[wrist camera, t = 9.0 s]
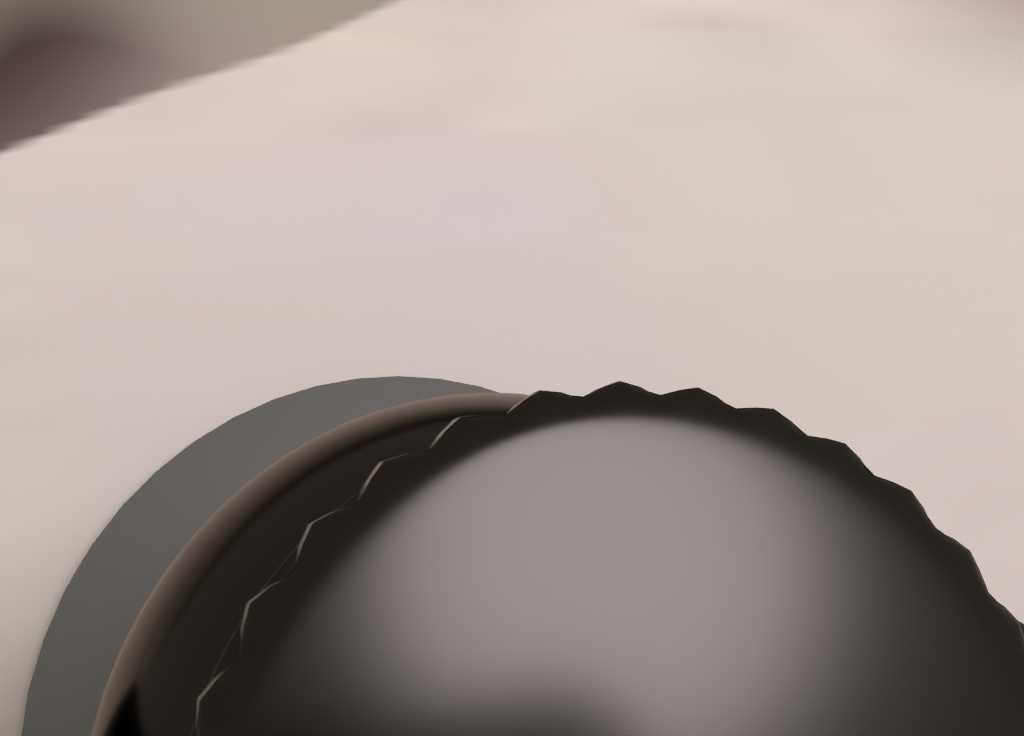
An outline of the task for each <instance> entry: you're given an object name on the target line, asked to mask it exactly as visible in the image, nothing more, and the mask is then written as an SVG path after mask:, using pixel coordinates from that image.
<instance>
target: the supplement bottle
mask: <svg viewBox="0 0 1024 736" xmlns="http://www.w3.org/2000/svg"><path fill="white" fill-rule="evenodd" d="M91 736H1024V634H1023V631H1022V628H1021V625H1020V622H1019V621H1018V620H1017V619H1016V618H1015V617H1014V616H1013V615H1012V614H1011V613H1010V612H1009V611H1008V610H1007V609H1006V608H1005V607H1004V606H1003V605H1001V604H1000V603H998V602H997V601H996V600H995V599H994V598H993V597H992V596H991V595H990V594H989V592H988V590H987V587H986V585H985V582H984V580H983V577H982V575H981V573H980V570H979V568H978V566H977V564H976V562H975V560H974V558H973V556H972V554H971V552H970V551H969V550H968V549H967V548H965V547H964V546H963V545H961V544H960V543H959V542H957V541H956V540H955V539H953V538H951V537H949V536H947V535H945V534H943V533H942V532H941V531H939V530H938V529H936V528H935V526H934V525H933V523H932V522H931V520H930V519H929V518H928V516H927V514H926V512H925V510H924V508H923V506H922V505H921V504H920V502H919V501H918V499H917V498H916V497H915V495H914V494H913V493H912V491H911V490H909V489H906V488H904V487H902V486H900V485H898V484H896V483H894V482H891V481H888V480H885V479H883V478H880V477H877V476H874V475H873V474H872V472H871V471H870V470H869V469H868V468H867V467H866V466H865V465H864V464H863V462H862V461H861V459H860V458H859V457H858V456H857V455H856V454H855V453H854V452H853V451H852V450H851V449H850V448H849V447H848V446H847V445H846V444H845V443H841V442H837V441H834V440H830V439H826V438H819V437H812V436H807V435H806V434H805V433H804V432H803V431H801V430H800V429H799V428H798V427H797V426H796V425H795V424H793V423H792V422H791V421H790V420H788V419H787V418H786V417H784V416H783V415H782V414H780V413H779V412H777V411H776V410H775V409H769V408H737V409H736V408H734V407H732V406H730V405H728V404H726V403H724V402H723V401H721V400H720V399H719V398H718V397H716V396H714V395H712V394H710V393H708V392H706V391H704V390H702V389H700V388H691V389H684V390H678V391H675V392H671V393H667V394H663V395H658V394H655V393H652V392H648V391H646V390H645V389H643V388H641V387H638V386H635V385H631V384H628V383H624V382H621V381H618V382H615V383H612V384H609V385H607V386H604V387H602V388H599V389H597V390H594V391H593V392H591V393H590V394H588V395H586V396H584V397H581V396H570V395H567V394H564V393H561V392H551V391H540V390H539V391H536V392H534V393H532V394H531V395H524V394H512V393H473V394H458V395H447V396H441V397H435V398H429V399H423V400H417V401H412V402H408V403H405V404H401V405H397V406H393V407H390V408H386V409H382V410H379V411H376V412H373V413H370V414H368V415H365V416H362V417H360V418H357V419H354V420H352V421H349V422H346V423H344V424H342V425H339V426H337V427H335V428H333V429H331V430H329V431H327V432H325V433H323V434H321V435H319V436H317V437H315V438H313V439H311V440H309V441H307V442H306V443H304V444H302V445H301V446H299V447H297V448H296V449H294V450H293V451H291V452H289V453H288V454H286V455H284V456H283V457H281V458H279V459H278V460H276V461H275V462H274V463H272V464H271V465H270V466H268V467H267V468H266V469H264V470H263V471H262V472H260V473H259V474H258V475H256V476H255V477H254V478H252V479H251V480H250V481H248V482H247V483H246V484H245V485H244V486H242V487H241V488H240V489H239V490H238V491H237V492H236V493H235V494H234V495H232V496H231V497H230V498H229V499H228V500H227V501H226V502H225V503H224V504H223V505H221V506H220V507H219V508H218V509H217V510H216V511H215V512H214V513H213V514H212V515H211V516H210V518H209V519H208V520H207V521H206V522H205V523H204V524H203V525H202V526H201V527H200V528H199V530H198V531H197V532H196V533H195V534H194V535H193V536H192V537H191V538H190V539H189V540H188V542H187V543H186V544H185V546H184V547H183V548H182V550H181V551H180V552H179V554H178V555H177V556H176V558H175V559H174V560H173V561H172V563H171V564H170V565H169V567H168V568H167V569H166V571H165V572H164V573H163V575H162V576H161V578H160V579H159V581H158V583H157V584H156V586H155V587H154V589H153V591H152V592H151V594H150V595H149V597H148V599H147V600H146V602H145V603H144V605H143V607H142V608H141V610H140V612H139V614H138V615H137V617H136V619H135V621H134V623H133V625H132V627H131V629H130V631H129V633H128V635H127V637H126V639H125V641H124V643H123V645H122V647H121V649H120V651H119V654H118V656H117V659H116V661H115V664H114V667H113V669H112V672H111V674H110V677H109V679H108V682H107V684H106V687H105V689H104V692H103V695H102V698H101V702H100V705H99V709H98V712H97V715H96V719H95V722H94V726H93V729H92V733H91Z"/></svg>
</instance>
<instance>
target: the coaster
mask: <svg viewBox="0 0 1024 736" xmlns="http://www.w3.org/2000/svg"><path fill="white" fill-rule="evenodd" d="M473 393H498V392H495V391H492V390H488V389H485V388H482V387H479V386H474V385H468V384H463V383H458V382H453V381H447V380H442V379H432V378H417V377H401V376H396V377H379V378H362V379H353V380H348V381H342V382H337V383H331V384H326V385H321V386H315V387H312V388H309V389H306V390H302V391H299V392H296V393H293V394H290V395H287V396H283V397H280V398H277V399H274V400H271V401H269V402H267V403H265V404H263V405H261V406H258V407H256V408H254V409H252V410H250V411H247V412H245V413H243V414H241V415H239V416H236V417H234V418H232V419H231V420H229V421H227V422H226V423H224V424H222V425H221V426H219V427H217V428H216V429H214V430H213V431H211V432H209V433H208V434H206V435H204V436H203V437H201V438H200V439H198V440H196V441H195V442H193V443H192V444H191V445H189V446H188V447H187V448H186V449H184V450H183V451H182V452H180V453H179V454H178V455H177V456H175V457H174V458H173V459H172V460H170V461H169V462H168V463H167V464H165V465H164V466H163V467H162V468H160V469H159V470H158V471H157V472H156V473H155V474H154V475H153V476H152V477H151V478H150V479H149V480H148V481H147V482H146V483H145V484H144V485H143V486H142V487H141V488H140V489H139V490H138V491H137V492H136V493H135V494H134V495H133V496H132V497H131V498H130V499H129V500H128V501H127V502H126V503H125V504H124V505H123V506H122V507H121V508H120V510H119V511H118V512H117V514H116V515H115V516H114V518H113V519H112V520H111V521H110V523H109V524H108V525H107V527H106V528H105V529H104V530H103V532H102V533H101V534H100V536H99V537H98V538H97V540H96V541H95V542H94V543H93V545H92V546H91V548H90V549H89V551H88V553H87V554H86V556H85V558H84V560H83V561H82V563H81V565H80V566H79V568H78V570H77V571H76V573H75V575H74V576H73V578H72V580H71V581H70V583H69V585H68V586H67V588H66V590H65V592H64V594H63V597H62V599H61V601H60V604H59V606H58V608H57V610H56V613H55V615H54V617H53V620H52V622H51V624H50V626H49V629H48V631H47V633H46V636H45V638H44V641H43V644H42V648H41V651H40V655H39V658H38V661H37V665H36V668H35V671H34V675H33V678H32V682H31V685H30V688H29V694H28V700H27V706H26V712H25V718H24V725H23V731H22V736H91V733H92V729H93V726H94V722H95V719H96V715H97V712H98V709H99V705H100V702H101V698H102V695H103V692H104V689H105V687H106V684H107V682H108V679H109V677H110V674H111V672H112V669H113V667H114V664H115V661H116V659H117V656H118V654H119V651H120V649H121V647H122V645H123V643H124V641H125V639H126V637H127V635H128V633H129V631H130V629H131V627H132V625H133V623H134V621H135V619H136V617H137V615H138V614H139V612H140V610H141V608H142V607H143V605H144V603H145V602H146V600H147V599H148V597H149V595H150V594H151V592H152V591H153V589H154V587H155V586H156V584H157V583H158V581H159V579H160V578H161V576H162V575H163V573H164V572H165V571H166V569H167V568H168V567H169V565H170V564H171V563H172V561H173V560H174V559H175V558H176V556H177V555H178V554H179V552H180V551H181V550H182V548H183V547H184V546H185V544H186V543H187V542H188V540H189V539H190V538H191V537H192V536H193V535H194V534H195V533H196V532H197V531H198V530H199V528H200V527H201V526H202V525H203V524H204V523H205V522H206V521H207V520H208V519H209V518H210V516H211V515H212V514H213V513H214V512H215V511H216V510H217V509H218V508H219V507H220V506H221V505H223V504H224V503H225V502H226V501H227V500H228V499H229V498H230V497H231V496H232V495H234V494H235V493H236V492H237V491H238V490H239V489H240V488H241V487H242V486H244V485H245V484H246V483H247V482H248V481H250V480H251V479H252V478H254V477H255V476H256V475H258V474H259V473H260V472H262V471H263V470H264V469H266V468H267V467H268V466H270V465H271V464H272V463H274V462H275V461H276V460H278V459H279V458H281V457H283V456H284V455H286V454H288V453H289V452H291V451H293V450H294V449H296V448H297V447H299V446H301V445H302V444H304V443H306V442H307V441H309V440H311V439H313V438H315V437H317V436H319V435H321V434H323V433H325V432H327V431H329V430H331V429H333V428H335V427H337V426H339V425H342V424H344V423H346V422H349V421H352V420H354V419H357V418H360V417H362V416H365V415H368V414H370V413H373V412H376V411H379V410H382V409H386V408H390V407H393V406H397V405H401V404H405V403H408V402H412V401H417V400H423V399H429V398H435V397H441V396H447V395H458V394H473Z"/></svg>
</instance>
